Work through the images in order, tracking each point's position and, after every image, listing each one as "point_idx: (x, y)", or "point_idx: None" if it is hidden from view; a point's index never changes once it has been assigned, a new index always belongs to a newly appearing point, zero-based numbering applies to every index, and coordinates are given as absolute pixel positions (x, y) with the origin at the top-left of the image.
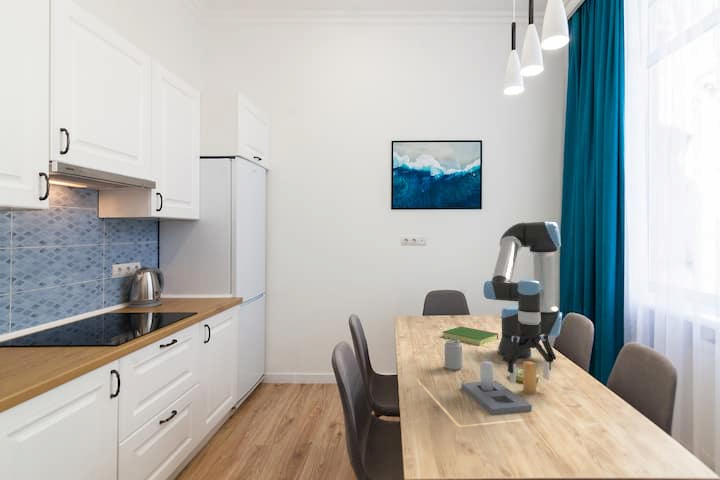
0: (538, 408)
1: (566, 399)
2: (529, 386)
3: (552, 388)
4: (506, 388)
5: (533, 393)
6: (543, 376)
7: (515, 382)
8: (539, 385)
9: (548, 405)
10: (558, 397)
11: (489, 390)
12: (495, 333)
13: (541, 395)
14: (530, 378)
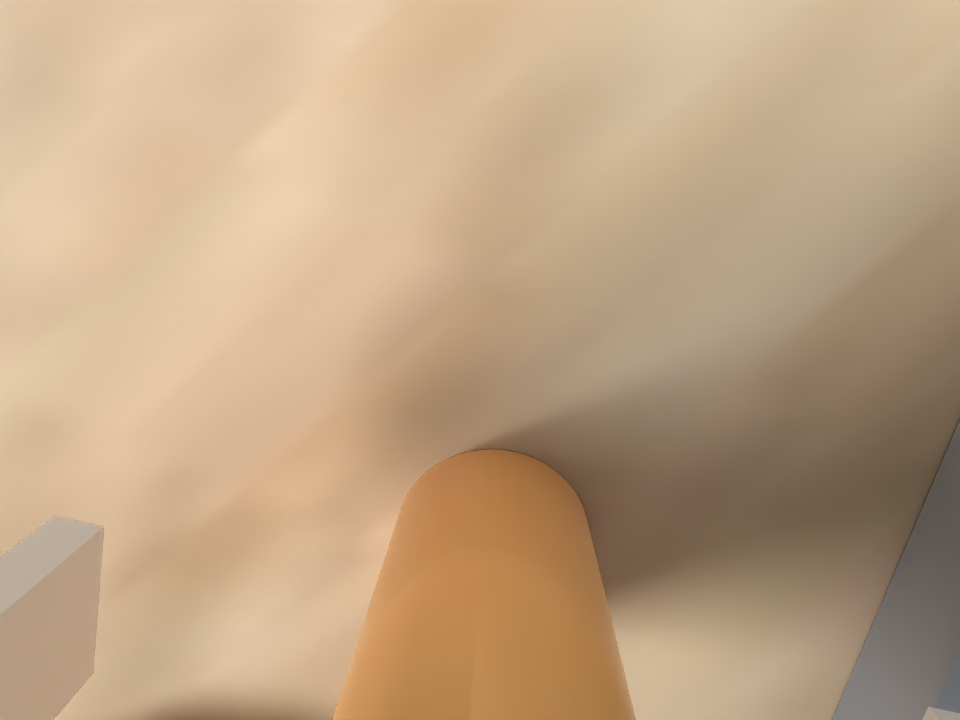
0: (888, 38)
1: (122, 109)
2: (584, 560)
3: (13, 519)
4: (952, 707)
5: (516, 465)
6: (72, 678)
7: (944, 712)
8: (122, 673)
9: (620, 57)
10: (189, 229)
11: None
12: None
13: (392, 403)
14: (587, 665)
